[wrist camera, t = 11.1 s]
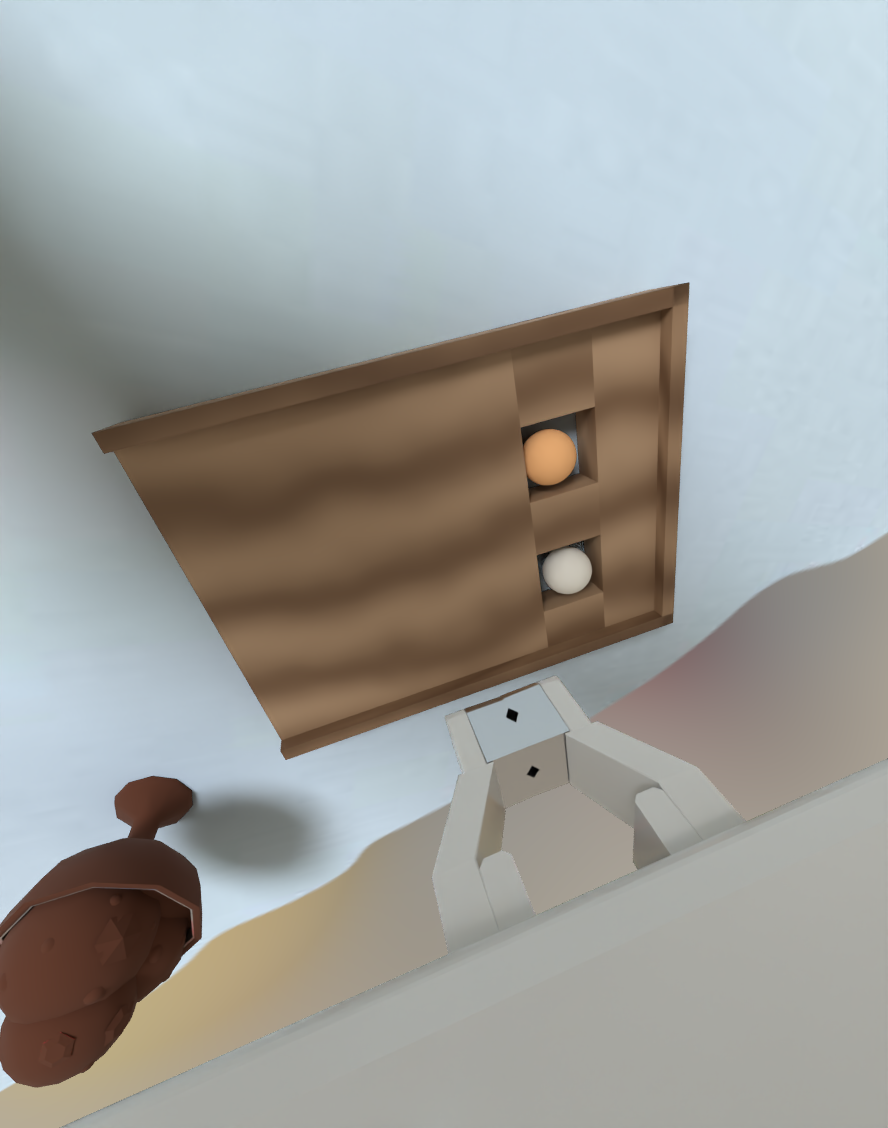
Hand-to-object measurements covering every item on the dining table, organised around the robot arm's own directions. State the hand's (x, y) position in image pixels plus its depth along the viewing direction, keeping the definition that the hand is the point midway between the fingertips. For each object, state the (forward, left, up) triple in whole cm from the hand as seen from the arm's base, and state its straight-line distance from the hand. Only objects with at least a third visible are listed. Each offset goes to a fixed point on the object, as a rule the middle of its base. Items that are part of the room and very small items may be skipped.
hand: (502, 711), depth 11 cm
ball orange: (0, +10, -19) cm, 21 cm away
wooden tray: (+4, +3, -21) cm, 21 cm away
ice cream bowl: (+19, -25, -21) cm, 38 cm away
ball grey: (+9, +11, -19) cm, 24 cm away
